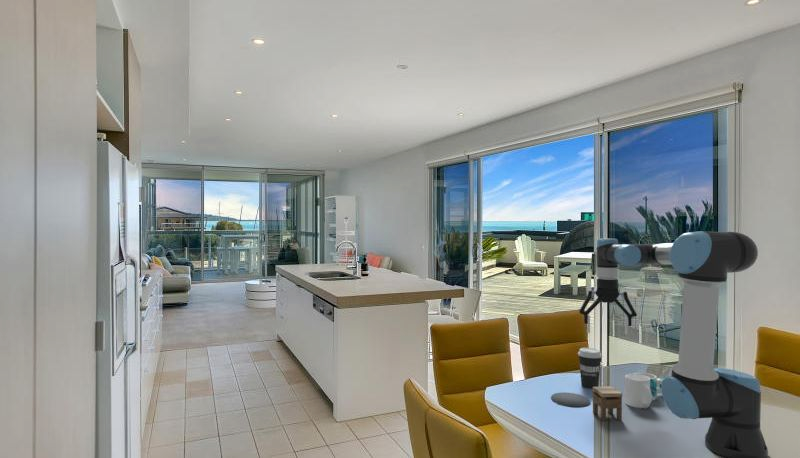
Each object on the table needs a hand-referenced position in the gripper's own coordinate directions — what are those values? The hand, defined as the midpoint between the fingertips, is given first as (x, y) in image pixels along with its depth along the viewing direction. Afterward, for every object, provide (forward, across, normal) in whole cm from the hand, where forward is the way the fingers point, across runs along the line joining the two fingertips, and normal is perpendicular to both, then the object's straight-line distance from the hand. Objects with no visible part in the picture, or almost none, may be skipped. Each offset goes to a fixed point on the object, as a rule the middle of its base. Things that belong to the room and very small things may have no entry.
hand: (607, 333), depth 182 cm
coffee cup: (+25, +5, -13) cm, 29 cm away
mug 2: (+25, -16, -7) cm, 31 cm away
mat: (+25, +14, +6) cm, 29 cm away
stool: (+25, +2, +19) cm, 32 cm away
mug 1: (+25, -11, +6) cm, 28 cm away
